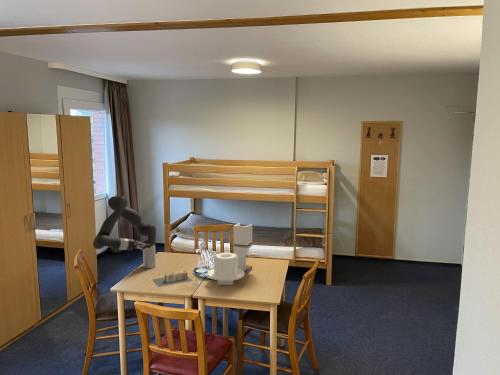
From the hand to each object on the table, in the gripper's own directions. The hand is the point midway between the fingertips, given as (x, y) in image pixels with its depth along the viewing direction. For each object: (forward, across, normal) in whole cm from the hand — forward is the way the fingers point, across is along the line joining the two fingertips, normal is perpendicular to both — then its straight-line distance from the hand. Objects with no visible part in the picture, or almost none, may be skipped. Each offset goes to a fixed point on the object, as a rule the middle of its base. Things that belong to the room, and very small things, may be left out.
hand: (150, 246), depth 270 cm
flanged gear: (+47, -32, +10) cm, 58 cm away
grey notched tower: (+70, -18, +7) cm, 73 cm away
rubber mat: (+18, -9, +21) cm, 29 cm away
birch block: (+13, -8, +19) cm, 25 cm away
